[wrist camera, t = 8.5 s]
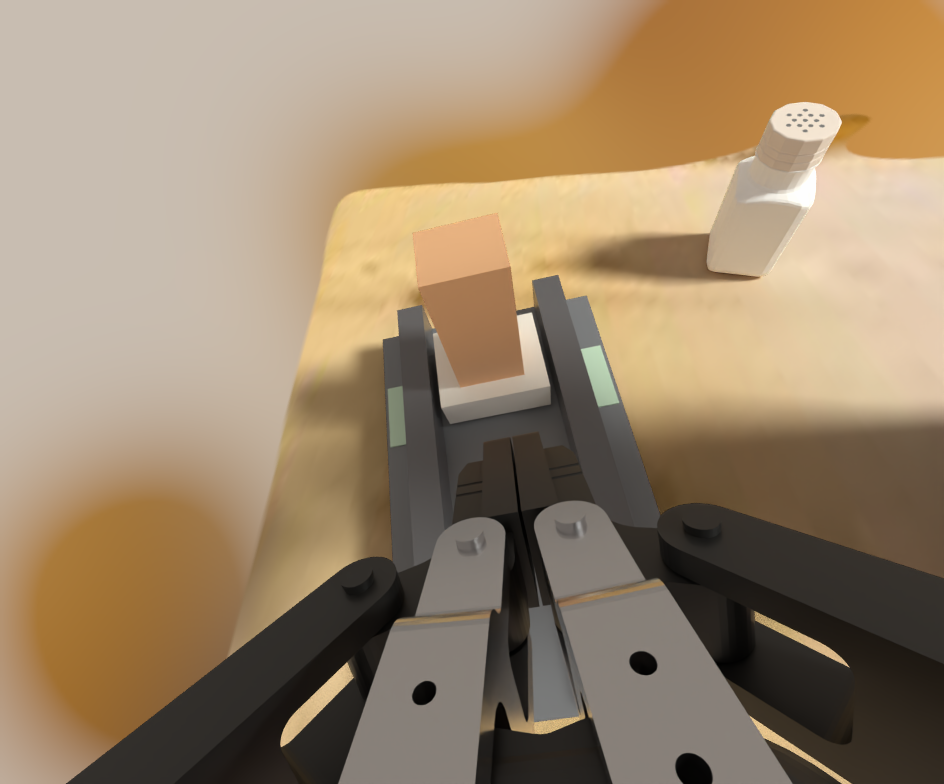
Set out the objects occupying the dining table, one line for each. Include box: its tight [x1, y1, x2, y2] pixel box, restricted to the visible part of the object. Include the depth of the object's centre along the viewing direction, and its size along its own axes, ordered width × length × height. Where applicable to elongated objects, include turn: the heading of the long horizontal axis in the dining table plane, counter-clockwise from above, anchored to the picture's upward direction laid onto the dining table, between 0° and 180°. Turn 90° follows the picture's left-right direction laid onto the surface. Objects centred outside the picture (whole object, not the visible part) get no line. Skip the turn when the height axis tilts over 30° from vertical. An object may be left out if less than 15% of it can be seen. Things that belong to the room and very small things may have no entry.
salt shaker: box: [706, 102, 842, 277], centre depth 26 cm, size 4×4×10 cm
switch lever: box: [413, 213, 551, 424], centre depth 22 cm, size 5×6×11 cm
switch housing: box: [383, 275, 660, 722], centre depth 24 cm, size 22×14×5 cm, turn 8°
